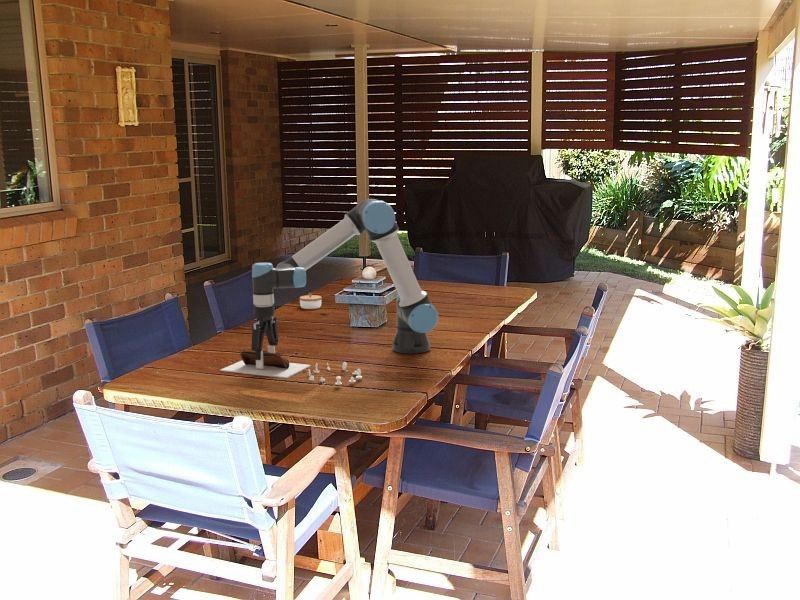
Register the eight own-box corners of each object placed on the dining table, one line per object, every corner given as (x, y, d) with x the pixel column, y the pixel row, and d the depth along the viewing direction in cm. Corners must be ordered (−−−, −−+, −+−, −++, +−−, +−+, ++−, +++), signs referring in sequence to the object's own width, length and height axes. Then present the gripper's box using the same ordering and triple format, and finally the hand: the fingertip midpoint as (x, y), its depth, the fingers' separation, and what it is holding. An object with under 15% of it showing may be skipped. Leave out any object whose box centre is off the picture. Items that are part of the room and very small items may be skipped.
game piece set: (332, 367, 316) (332, 357, 315) (372, 376, 303) (372, 365, 303) (294, 378, 301) (294, 367, 300) (335, 388, 288) (335, 377, 288)
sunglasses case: (238, 350, 311) (248, 345, 317) (240, 368, 313) (249, 362, 319) (280, 354, 305) (289, 349, 310) (282, 373, 306) (291, 367, 312)
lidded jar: (326, 311, 417) (325, 293, 415) (312, 315, 408) (312, 296, 406) (309, 309, 423) (308, 291, 421) (295, 313, 414) (295, 294, 412)
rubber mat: (310, 365, 316) (310, 364, 316) (286, 378, 299) (286, 377, 299) (246, 359, 326) (246, 358, 326) (220, 370, 310) (220, 369, 310)
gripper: (269, 299, 319) (271, 357, 323) (239, 309, 300) (242, 371, 304) (286, 300, 316) (288, 359, 320) (257, 311, 297) (259, 373, 302)
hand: (265, 365), depth 312 cm, fingers open, 8 cm apart
